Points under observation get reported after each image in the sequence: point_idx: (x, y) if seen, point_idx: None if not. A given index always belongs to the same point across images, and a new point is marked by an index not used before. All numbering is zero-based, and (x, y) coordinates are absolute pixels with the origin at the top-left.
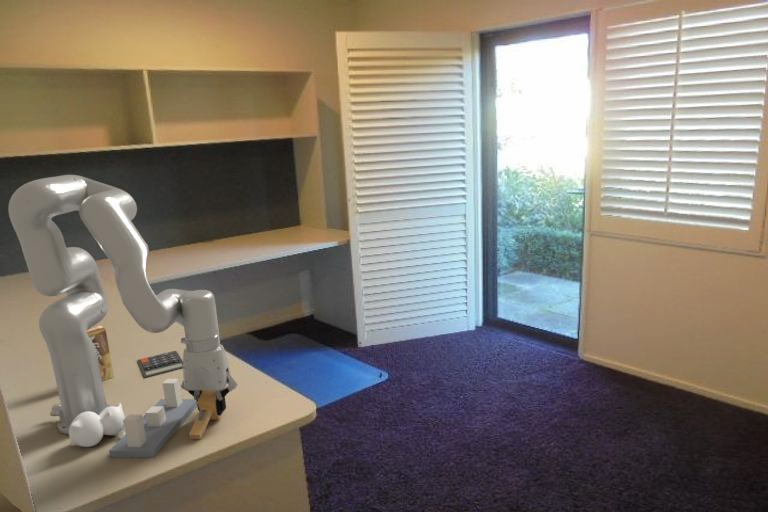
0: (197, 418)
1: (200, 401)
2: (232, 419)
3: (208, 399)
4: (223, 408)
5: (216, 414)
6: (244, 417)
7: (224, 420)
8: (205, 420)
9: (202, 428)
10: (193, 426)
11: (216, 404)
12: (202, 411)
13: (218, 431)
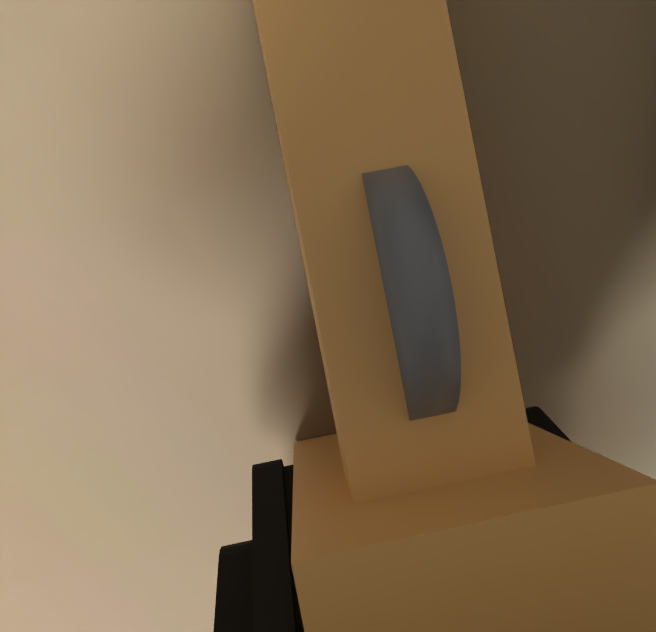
0: (464, 205)
1: (599, 532)
2: (135, 483)
3: (449, 627)
4: (218, 567)
5: (302, 461)
6: (17, 550)
7: (220, 444)
8: (296, 199)
9: (262, 38)
10: (437, 27)
11: None
12: (419, 312)
13: (129, 211)
